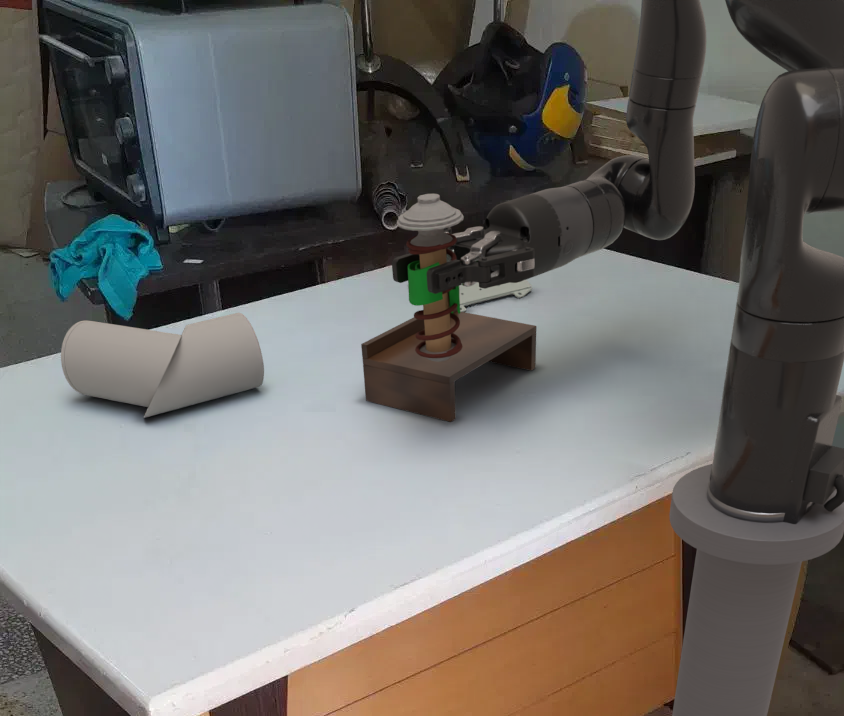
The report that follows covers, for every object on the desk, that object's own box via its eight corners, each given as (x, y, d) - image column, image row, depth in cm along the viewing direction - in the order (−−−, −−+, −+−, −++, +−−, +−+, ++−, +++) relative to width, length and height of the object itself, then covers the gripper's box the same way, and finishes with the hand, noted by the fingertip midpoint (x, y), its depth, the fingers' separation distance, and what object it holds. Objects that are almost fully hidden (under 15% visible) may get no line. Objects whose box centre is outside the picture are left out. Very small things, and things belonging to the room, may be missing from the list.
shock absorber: (480, 359, 103) (474, 197, 93) (424, 374, 101) (411, 210, 91) (453, 341, 107) (444, 183, 98) (399, 354, 106) (384, 196, 96)
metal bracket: (396, 247, 143) (485, 228, 148) (393, 286, 148) (480, 266, 153) (448, 302, 136) (539, 280, 141) (443, 341, 141) (532, 318, 146)
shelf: (535, 368, 122) (537, 312, 118) (450, 422, 112) (448, 363, 107) (454, 350, 128) (452, 297, 124) (365, 400, 117) (360, 343, 113)
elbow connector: (108, 436, 110) (274, 390, 117) (76, 333, 105) (252, 292, 112) (71, 419, 124) (222, 379, 131) (41, 328, 119) (200, 292, 126)
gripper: (490, 184, 107) (362, 222, 100) (590, 203, 98) (458, 248, 91) (492, 259, 112) (371, 302, 105) (587, 284, 103) (462, 333, 96)
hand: (412, 276), depth 98 cm, fingers closed on shock absorber, 4 cm apart
